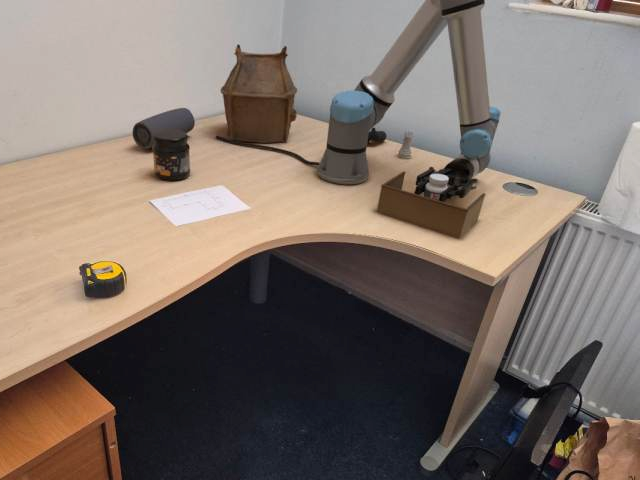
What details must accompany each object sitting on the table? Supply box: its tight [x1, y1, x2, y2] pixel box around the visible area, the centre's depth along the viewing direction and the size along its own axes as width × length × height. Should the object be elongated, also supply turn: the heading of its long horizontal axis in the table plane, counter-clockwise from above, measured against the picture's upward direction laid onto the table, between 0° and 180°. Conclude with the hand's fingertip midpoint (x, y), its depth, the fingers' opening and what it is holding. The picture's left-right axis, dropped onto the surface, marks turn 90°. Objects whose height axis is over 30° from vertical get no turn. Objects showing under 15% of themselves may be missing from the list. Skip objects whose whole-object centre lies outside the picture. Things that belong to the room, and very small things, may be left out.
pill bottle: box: [422, 174, 449, 201], centre depth 134 cm, size 6×6×10 cm
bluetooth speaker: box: [132, 107, 196, 149], centre depth 173 cm, size 23×9×10 cm, turn 150°
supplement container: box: [151, 130, 191, 182], centre depth 149 cm, size 10×10×12 cm
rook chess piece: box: [397, 131, 414, 160], centre depth 171 cm, size 4×4×8 cm
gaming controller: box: [367, 127, 387, 144], centre depth 184 cm, size 17×6×10 cm
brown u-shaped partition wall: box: [376, 171, 486, 239], centre depth 133 cm, size 13×22×8 cm, turn 52°
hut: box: [220, 43, 298, 144], centre depth 179 cm, size 23×27×30 cm
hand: (428, 195), depth 129 cm, fingers closed on pill bottle, 6 cm apart
